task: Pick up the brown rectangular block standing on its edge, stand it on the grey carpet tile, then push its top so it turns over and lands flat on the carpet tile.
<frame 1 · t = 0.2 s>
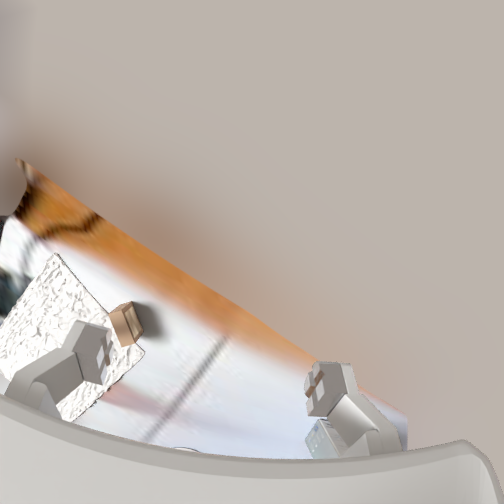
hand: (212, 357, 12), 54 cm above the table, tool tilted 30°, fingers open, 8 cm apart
carpet tile: (54, 353, 63), on the table
hard drive box: (335, 434, 72), on the table
brown rectangular block: (131, 318, 64), on the table
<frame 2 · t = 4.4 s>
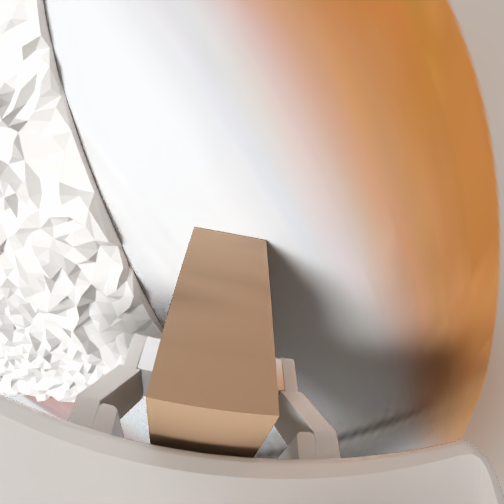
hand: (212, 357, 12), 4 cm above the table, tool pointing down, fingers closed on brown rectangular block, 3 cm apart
brown rectangular block: (217, 298, 15), on the table, touching gripper
when the fingers open (7 cm above the table, at t = 8.3 s): brown rectangular block drops 2 cm, point 1 cm above the table.
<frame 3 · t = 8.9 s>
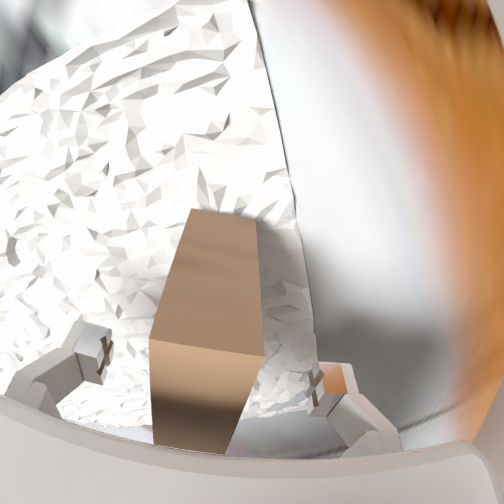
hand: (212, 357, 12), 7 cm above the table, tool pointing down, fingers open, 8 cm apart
carpet tile: (47, 308, 21), on the table
brown rectangular block: (211, 275, 16), point 1 cm above the table
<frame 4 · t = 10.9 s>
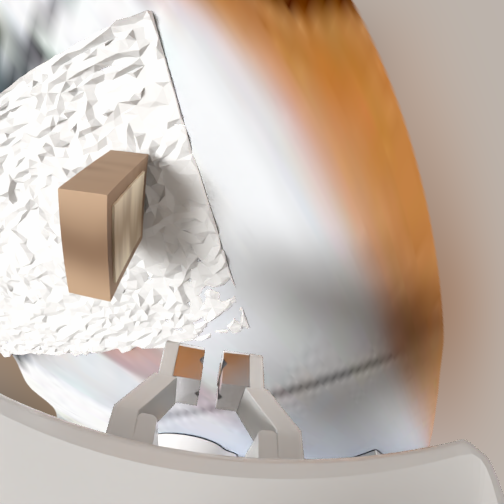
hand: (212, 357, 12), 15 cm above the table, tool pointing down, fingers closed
carpet tile: (34, 241, 28), on the table, touching brown rectangular block
brown rectangular block: (126, 195, 23), point 1 cm above the table, touching carpet tile
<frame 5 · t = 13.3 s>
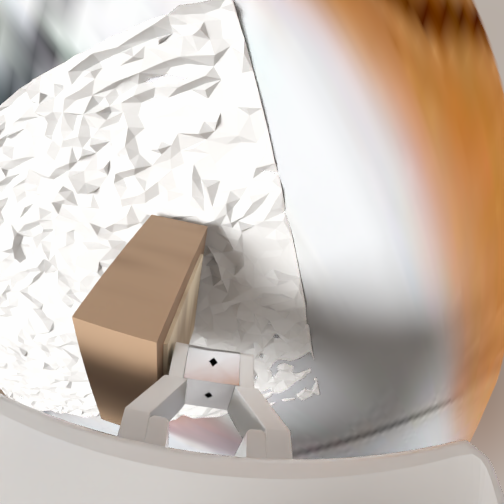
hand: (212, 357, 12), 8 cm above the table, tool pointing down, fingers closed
carpet tile: (51, 303, 22), on the table, touching brown rectangular block
brown rectangular block: (174, 276, 18), point 1 cm above the table, tilted 5°, touching carpet tile, gripper
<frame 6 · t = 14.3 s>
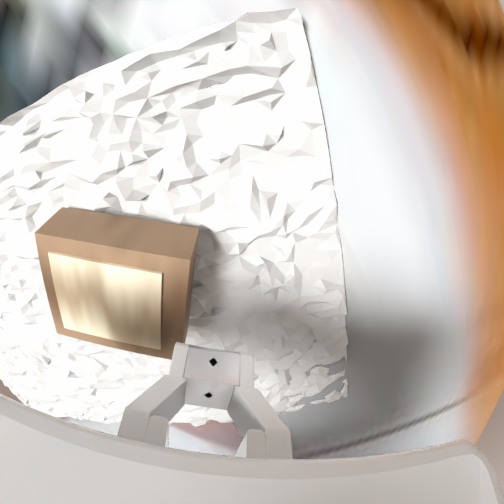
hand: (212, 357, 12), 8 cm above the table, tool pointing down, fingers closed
carpet tile: (80, 311, 22), on the table, touching brown rectangular block
brown rectangular block: (188, 299, 17), point 3 cm above the table, tilted 90°, touching carpet tile
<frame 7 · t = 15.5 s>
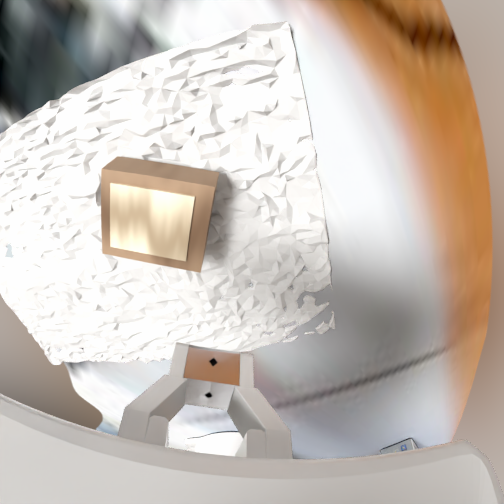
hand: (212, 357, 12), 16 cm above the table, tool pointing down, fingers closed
carpet tile: (114, 246, 29), on the table, touching brown rectangular block
hard drive box: (401, 449, 58), on the table
brown rectangular block: (209, 223, 24), point 3 cm above the table, tilted 90°, touching carpet tile
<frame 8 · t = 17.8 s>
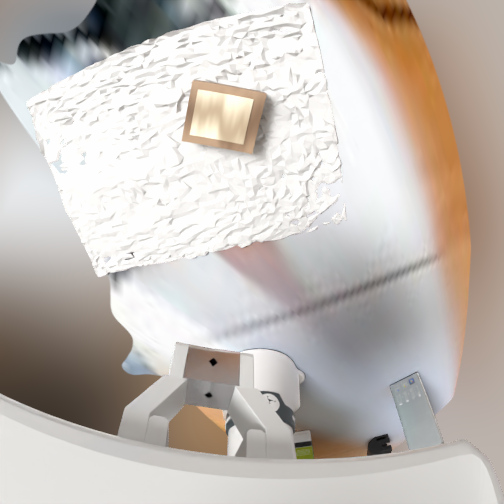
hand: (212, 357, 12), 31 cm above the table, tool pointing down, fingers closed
carpet tile: (180, 149, 39), on the table, touching brown rectangular block
tea box: (293, 441, 79), on the table
end cap: (375, 441, 84), on the table
hard drive box: (409, 389, 68), on the table
brown rectangular block: (258, 122, 34), point 3 cm above the table, tilted 90°, touching carpet tile
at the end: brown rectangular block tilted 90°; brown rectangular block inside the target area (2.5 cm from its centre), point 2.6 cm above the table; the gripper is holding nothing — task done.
